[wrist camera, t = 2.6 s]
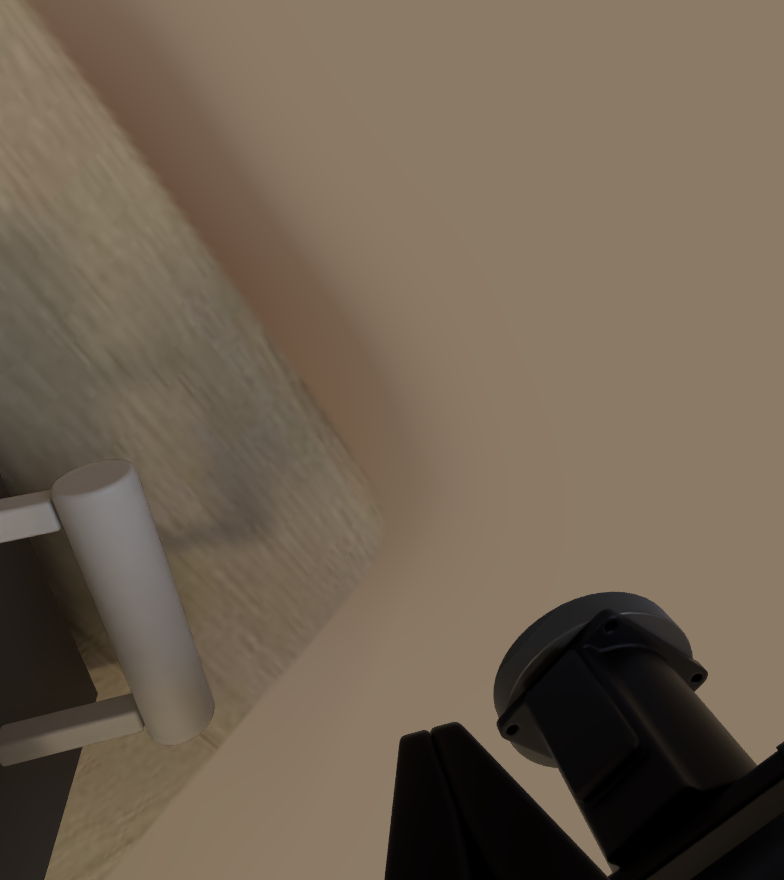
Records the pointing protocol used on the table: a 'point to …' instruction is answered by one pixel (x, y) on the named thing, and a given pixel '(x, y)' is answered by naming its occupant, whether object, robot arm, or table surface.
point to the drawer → (58, 659)
